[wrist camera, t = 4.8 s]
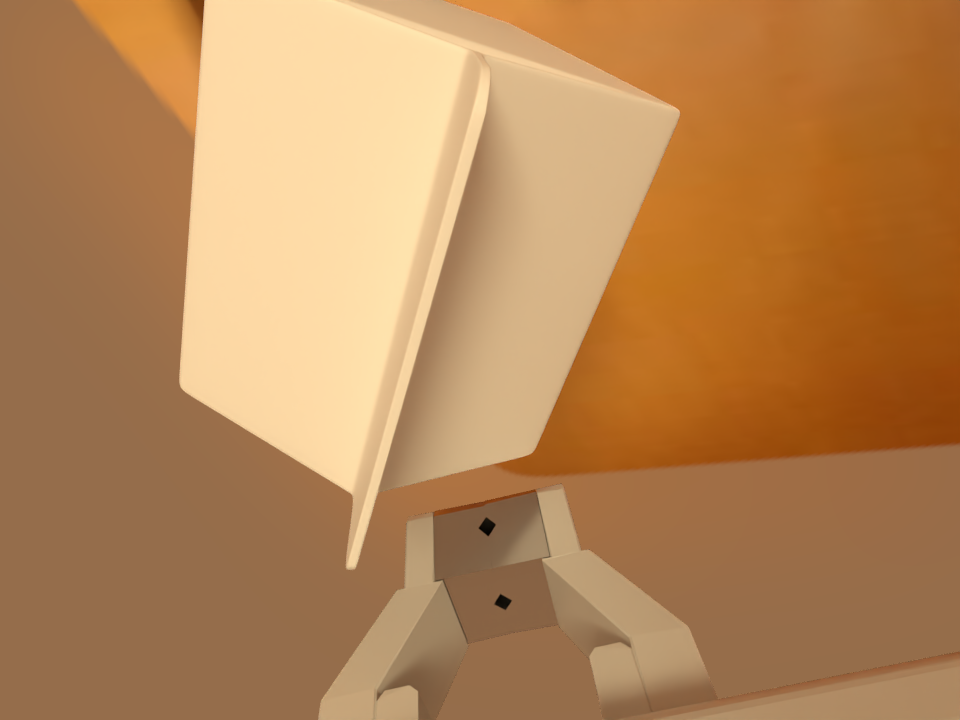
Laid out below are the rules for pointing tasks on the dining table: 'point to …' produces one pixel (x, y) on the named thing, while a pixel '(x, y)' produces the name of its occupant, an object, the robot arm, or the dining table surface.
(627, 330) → the dining table surface
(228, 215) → the milk
